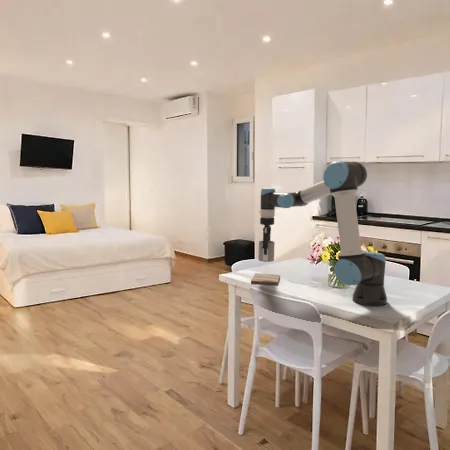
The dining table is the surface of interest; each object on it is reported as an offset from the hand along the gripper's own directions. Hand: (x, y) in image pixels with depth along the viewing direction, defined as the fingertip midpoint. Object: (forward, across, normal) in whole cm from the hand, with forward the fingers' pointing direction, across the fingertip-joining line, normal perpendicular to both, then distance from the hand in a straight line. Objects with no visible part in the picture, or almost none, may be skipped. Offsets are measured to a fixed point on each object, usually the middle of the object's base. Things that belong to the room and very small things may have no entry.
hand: (266, 258), depth 231 cm
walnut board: (+12, 0, 0) cm, 12 cm away
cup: (+1, 0, 0) cm, 1 cm away
